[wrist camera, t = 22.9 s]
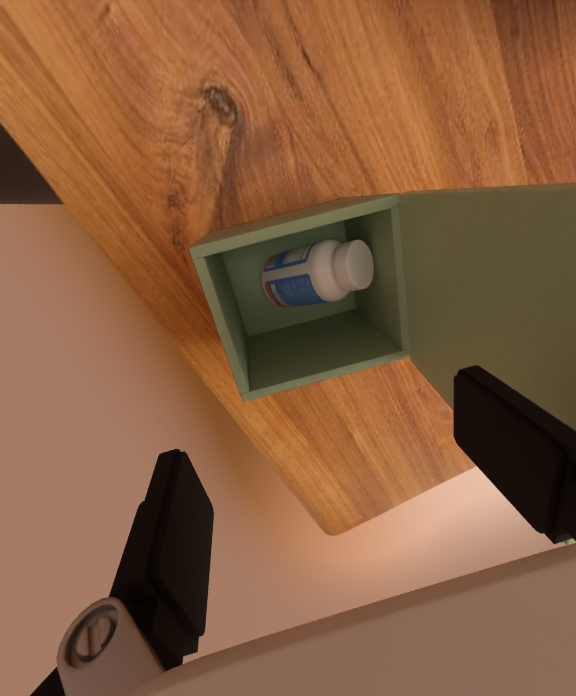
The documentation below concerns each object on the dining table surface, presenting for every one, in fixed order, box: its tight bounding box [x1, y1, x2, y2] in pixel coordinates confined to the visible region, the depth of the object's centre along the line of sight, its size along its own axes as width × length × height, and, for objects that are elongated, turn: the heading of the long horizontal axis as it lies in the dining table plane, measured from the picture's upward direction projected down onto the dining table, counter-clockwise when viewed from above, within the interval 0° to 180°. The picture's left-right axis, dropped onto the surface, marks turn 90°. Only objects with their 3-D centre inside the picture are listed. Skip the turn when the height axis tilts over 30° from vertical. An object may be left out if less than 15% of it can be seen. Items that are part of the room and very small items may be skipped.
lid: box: [398, 183, 576, 545], centre depth 17 cm, size 16×13×1 cm
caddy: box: [189, 193, 410, 402], centre depth 30 cm, size 15×13×13 cm
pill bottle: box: [262, 239, 374, 308], centre depth 29 cm, size 6×5×10 cm
